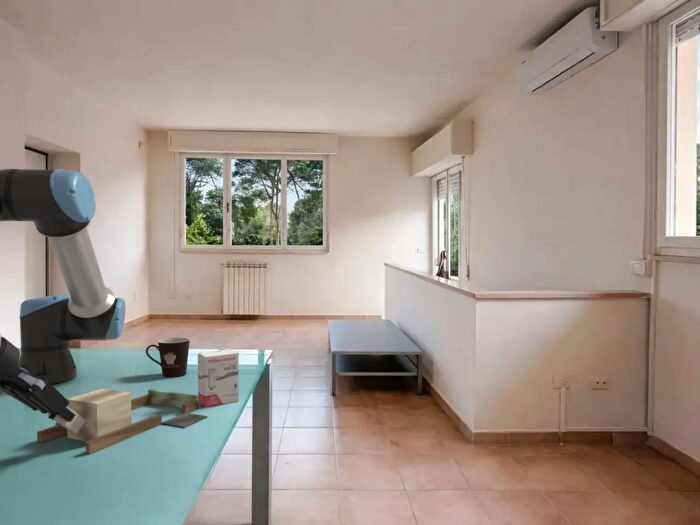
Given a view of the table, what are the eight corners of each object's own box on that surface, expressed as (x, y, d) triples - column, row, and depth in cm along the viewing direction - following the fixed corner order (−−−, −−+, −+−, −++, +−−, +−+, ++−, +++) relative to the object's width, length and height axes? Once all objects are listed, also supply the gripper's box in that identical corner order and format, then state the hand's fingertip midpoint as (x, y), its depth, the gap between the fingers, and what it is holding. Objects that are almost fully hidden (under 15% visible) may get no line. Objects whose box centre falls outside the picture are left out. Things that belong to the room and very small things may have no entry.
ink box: (203, 408, 117) (203, 356, 116) (197, 402, 121) (196, 352, 120) (240, 401, 122) (239, 351, 121) (232, 396, 126) (231, 348, 125)
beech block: (67, 437, 99) (66, 399, 98) (102, 424, 106) (101, 388, 106) (97, 443, 95) (97, 403, 95) (131, 429, 103) (131, 392, 103)
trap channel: (16, 437, 99) (16, 422, 99) (132, 398, 124) (132, 386, 124) (114, 459, 88) (114, 442, 88) (219, 412, 114) (219, 398, 114)
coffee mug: (196, 373, 150) (196, 338, 149) (175, 380, 142) (174, 344, 141) (166, 369, 154) (165, 336, 154) (143, 375, 147) (143, 340, 146)
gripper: (-63, 370, 80) (42, 440, 96) (-11, 379, 75) (91, 451, 91) (-27, 331, 85) (67, 404, 101) (24, 337, 80) (115, 412, 95)
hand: (78, 426), depth 96 cm, fingers closed
